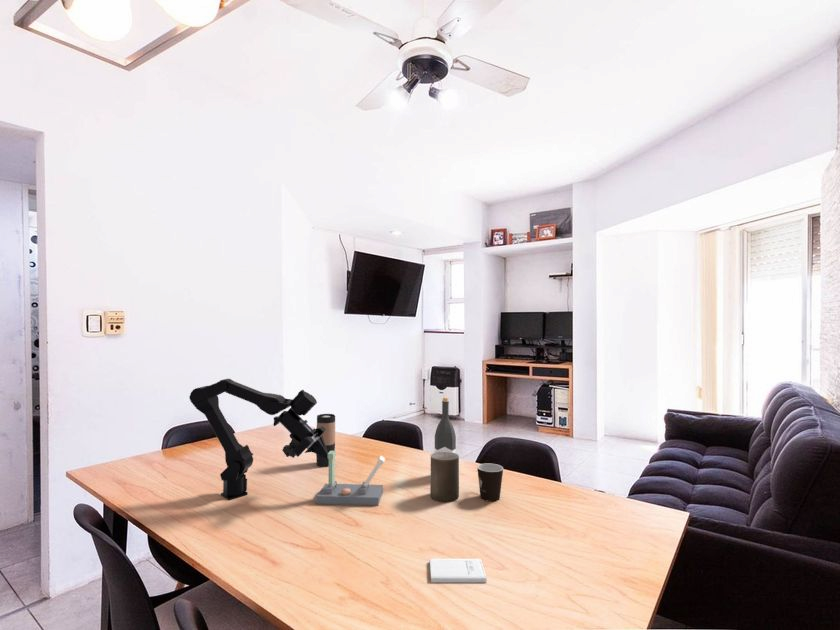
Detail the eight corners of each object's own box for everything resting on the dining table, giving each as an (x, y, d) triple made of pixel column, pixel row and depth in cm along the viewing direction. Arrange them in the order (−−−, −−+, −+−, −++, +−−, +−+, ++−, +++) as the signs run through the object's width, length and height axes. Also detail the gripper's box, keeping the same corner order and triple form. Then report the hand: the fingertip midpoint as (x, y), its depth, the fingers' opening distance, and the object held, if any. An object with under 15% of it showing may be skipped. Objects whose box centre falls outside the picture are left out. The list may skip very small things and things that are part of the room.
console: (316, 503, 136) (316, 490, 136) (325, 490, 147) (325, 478, 147) (378, 505, 135) (378, 492, 135) (382, 492, 146) (382, 479, 146)
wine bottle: (455, 473, 165) (456, 396, 166) (455, 480, 157) (455, 399, 158) (435, 472, 166) (435, 395, 167) (433, 479, 158) (434, 399, 159)
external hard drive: (429, 564, 103) (480, 564, 103) (430, 584, 94) (486, 584, 95) (429, 557, 103) (480, 557, 103) (430, 577, 94) (486, 577, 95)
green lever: (326, 491, 139) (327, 454, 139) (330, 486, 143) (330, 450, 144) (332, 491, 139) (333, 454, 139) (336, 486, 143) (336, 450, 144)
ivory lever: (358, 490, 138) (378, 458, 139) (361, 485, 143) (380, 454, 143) (364, 493, 138) (384, 462, 138) (366, 488, 143) (385, 458, 143)
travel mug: (311, 465, 174) (312, 416, 174) (324, 460, 180) (325, 413, 181) (326, 468, 170) (327, 418, 171) (338, 463, 177) (339, 414, 178)
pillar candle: (457, 503, 137) (457, 456, 137) (427, 500, 139) (428, 454, 139) (460, 492, 146) (460, 448, 147) (432, 489, 148) (433, 446, 149)
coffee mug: (503, 504, 137) (503, 472, 137) (476, 501, 139) (476, 470, 139) (503, 490, 148) (503, 461, 149) (478, 488, 150) (478, 460, 150)
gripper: (288, 435, 152) (319, 466, 151) (267, 450, 133) (302, 485, 132) (310, 413, 152) (341, 444, 151) (292, 424, 133) (327, 460, 132)
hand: (328, 458), depth 141 cm, fingers closed, pressing on green lever
